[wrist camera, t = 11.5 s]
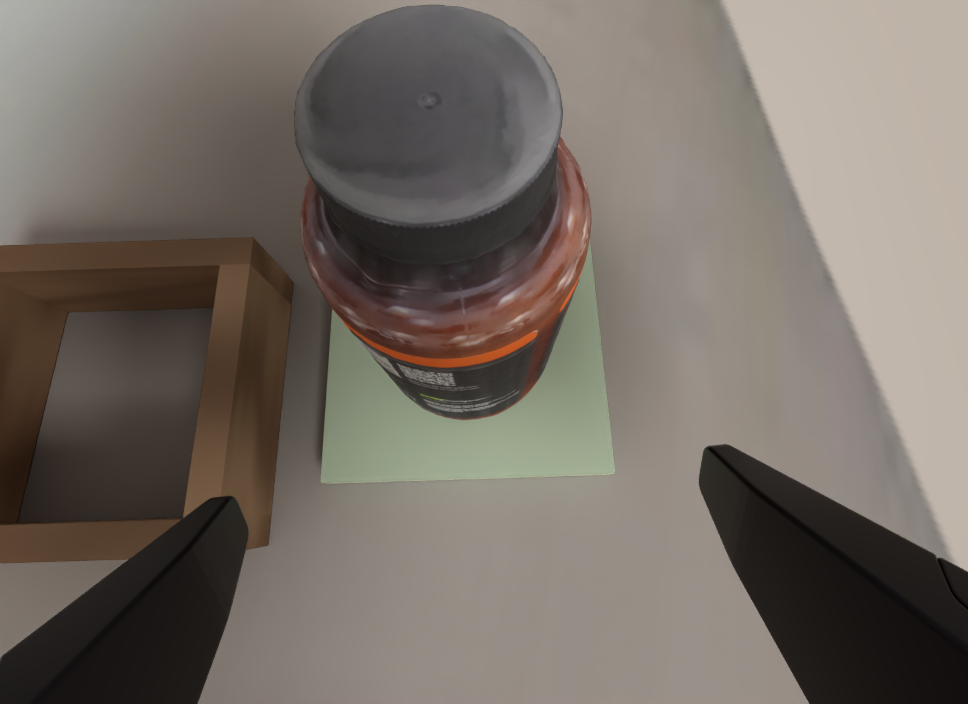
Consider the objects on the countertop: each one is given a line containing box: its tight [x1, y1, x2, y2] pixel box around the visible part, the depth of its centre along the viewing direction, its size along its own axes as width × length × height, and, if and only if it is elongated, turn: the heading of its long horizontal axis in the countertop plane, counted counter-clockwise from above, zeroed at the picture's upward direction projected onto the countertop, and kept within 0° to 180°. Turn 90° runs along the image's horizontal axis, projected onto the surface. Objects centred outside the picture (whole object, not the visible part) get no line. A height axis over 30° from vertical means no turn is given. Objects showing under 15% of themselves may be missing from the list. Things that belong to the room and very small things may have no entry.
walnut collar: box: [0, 237, 293, 563], centre depth 16 cm, size 10×10×4 cm
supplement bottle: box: [294, 5, 591, 420], centre depth 12 cm, size 6×6×11 cm
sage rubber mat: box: [320, 239, 615, 484], centre depth 18 cm, size 10×10×1 cm
